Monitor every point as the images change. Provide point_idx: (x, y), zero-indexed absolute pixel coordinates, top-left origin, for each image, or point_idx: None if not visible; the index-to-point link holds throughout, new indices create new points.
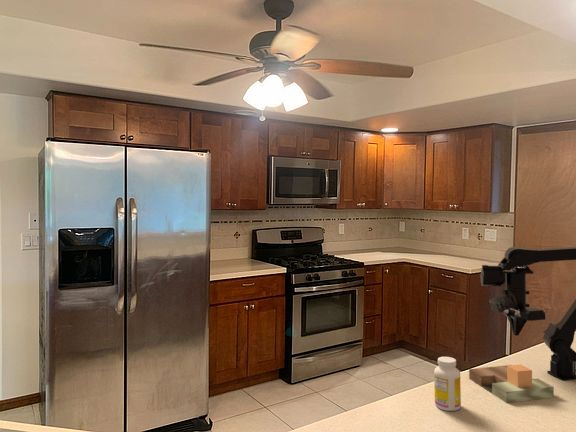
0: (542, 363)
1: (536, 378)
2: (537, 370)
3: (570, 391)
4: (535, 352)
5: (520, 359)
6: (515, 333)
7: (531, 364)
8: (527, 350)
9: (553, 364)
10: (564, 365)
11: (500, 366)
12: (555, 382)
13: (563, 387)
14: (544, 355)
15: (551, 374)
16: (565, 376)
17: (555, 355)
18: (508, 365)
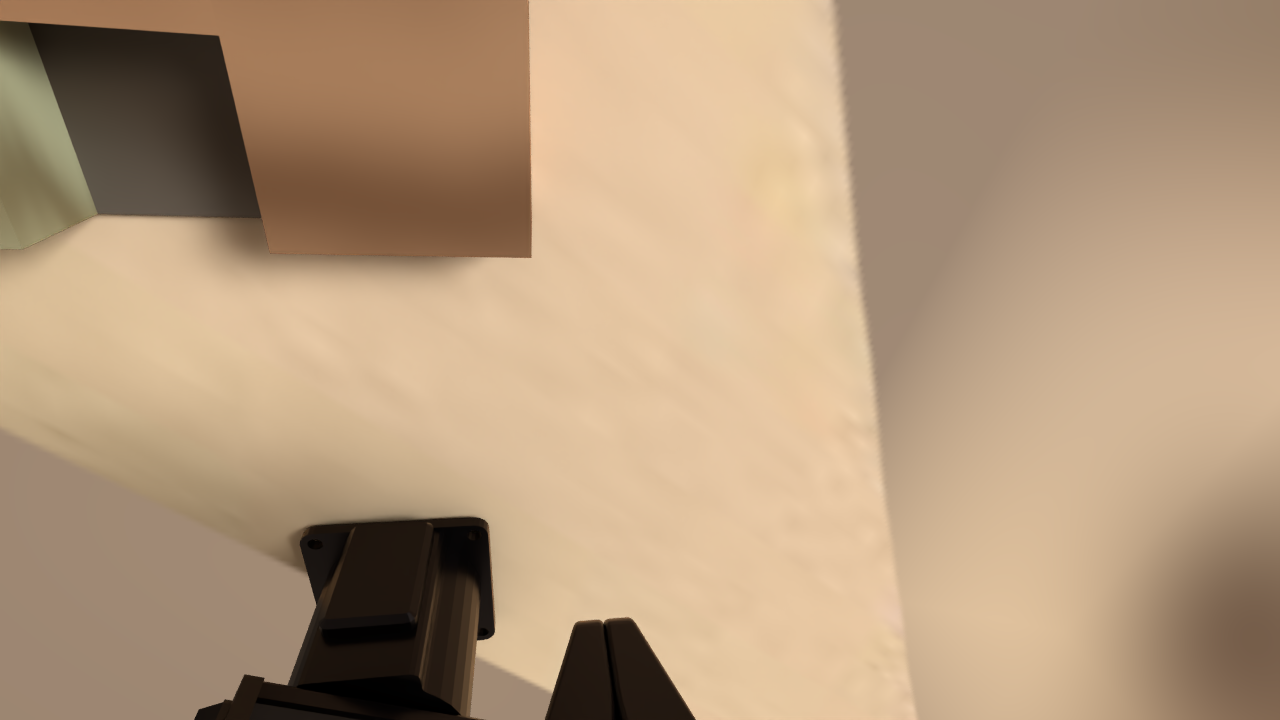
0: (667, 588)
1: (10, 230)
2: (556, 485)
3: (50, 445)
4: (844, 651)
5: (795, 507)
6: (566, 661)
7: (679, 517)
8: (896, 631)
9: (368, 599)
10: (304, 654)
11: (509, 66)
12: (275, 457)
13: (151, 448)
14: (778, 666)
15: (431, 521)
16: (331, 574)
17: (404, 701)
18: (518, 204)
